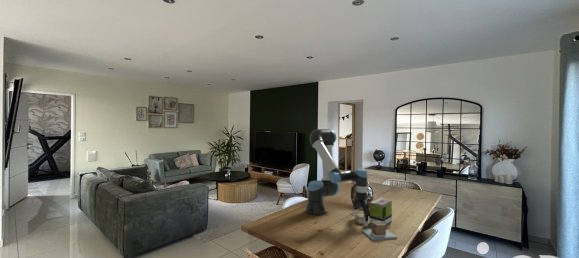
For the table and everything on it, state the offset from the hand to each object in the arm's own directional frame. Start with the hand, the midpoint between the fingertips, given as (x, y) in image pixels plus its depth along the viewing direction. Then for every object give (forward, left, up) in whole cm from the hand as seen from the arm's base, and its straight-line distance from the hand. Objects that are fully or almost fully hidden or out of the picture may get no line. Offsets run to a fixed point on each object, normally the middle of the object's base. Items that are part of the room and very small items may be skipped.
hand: (361, 222), depth 175 cm
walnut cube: (+21, +1, +1) cm, 21 cm away
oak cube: (0, 0, 0) cm, 0 cm away
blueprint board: (+21, +1, 0) cm, 21 cm away
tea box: (+2, +14, 0) cm, 14 cm away
